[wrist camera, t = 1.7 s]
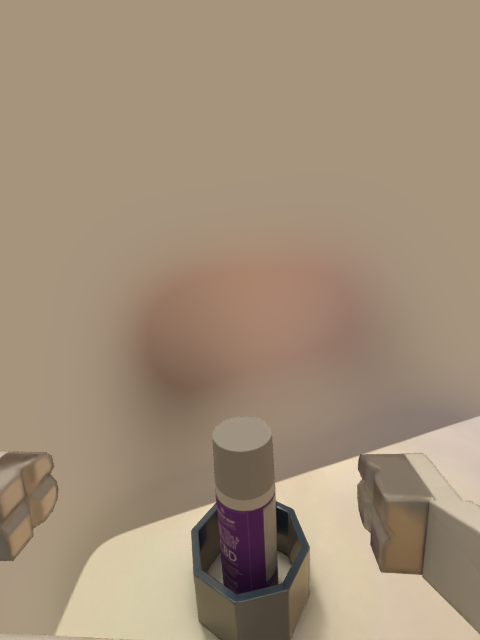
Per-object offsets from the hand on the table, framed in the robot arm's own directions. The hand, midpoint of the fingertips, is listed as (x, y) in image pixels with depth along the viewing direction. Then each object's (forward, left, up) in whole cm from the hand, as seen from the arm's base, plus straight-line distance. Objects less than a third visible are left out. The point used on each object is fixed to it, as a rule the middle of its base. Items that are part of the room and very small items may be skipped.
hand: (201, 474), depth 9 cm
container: (+3, +14, -23) cm, 27 cm away
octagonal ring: (+3, +14, -23) cm, 27 cm away
